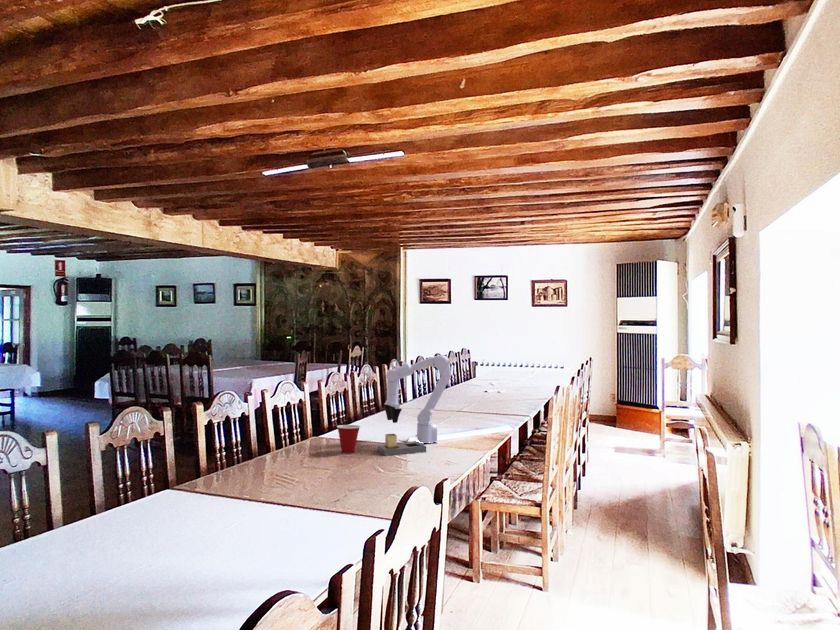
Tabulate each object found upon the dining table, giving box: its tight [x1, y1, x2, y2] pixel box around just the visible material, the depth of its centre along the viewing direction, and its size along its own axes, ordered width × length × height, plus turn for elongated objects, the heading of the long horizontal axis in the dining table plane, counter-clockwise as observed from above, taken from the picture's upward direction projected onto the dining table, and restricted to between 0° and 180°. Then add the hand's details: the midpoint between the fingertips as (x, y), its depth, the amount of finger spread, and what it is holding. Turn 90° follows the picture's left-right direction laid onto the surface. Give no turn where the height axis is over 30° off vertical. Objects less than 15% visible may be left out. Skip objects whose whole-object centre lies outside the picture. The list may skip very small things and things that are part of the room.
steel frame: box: [377, 441, 427, 456], centre depth 247 cm, size 20×10×2 cm, turn 113°
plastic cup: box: [336, 424, 361, 454], centre depth 246 cm, size 11×11×12 cm
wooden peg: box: [384, 433, 398, 449], centre depth 245 cm, size 4×4×8 cm
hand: (392, 421), depth 268 cm, fingers open, 7 cm apart
